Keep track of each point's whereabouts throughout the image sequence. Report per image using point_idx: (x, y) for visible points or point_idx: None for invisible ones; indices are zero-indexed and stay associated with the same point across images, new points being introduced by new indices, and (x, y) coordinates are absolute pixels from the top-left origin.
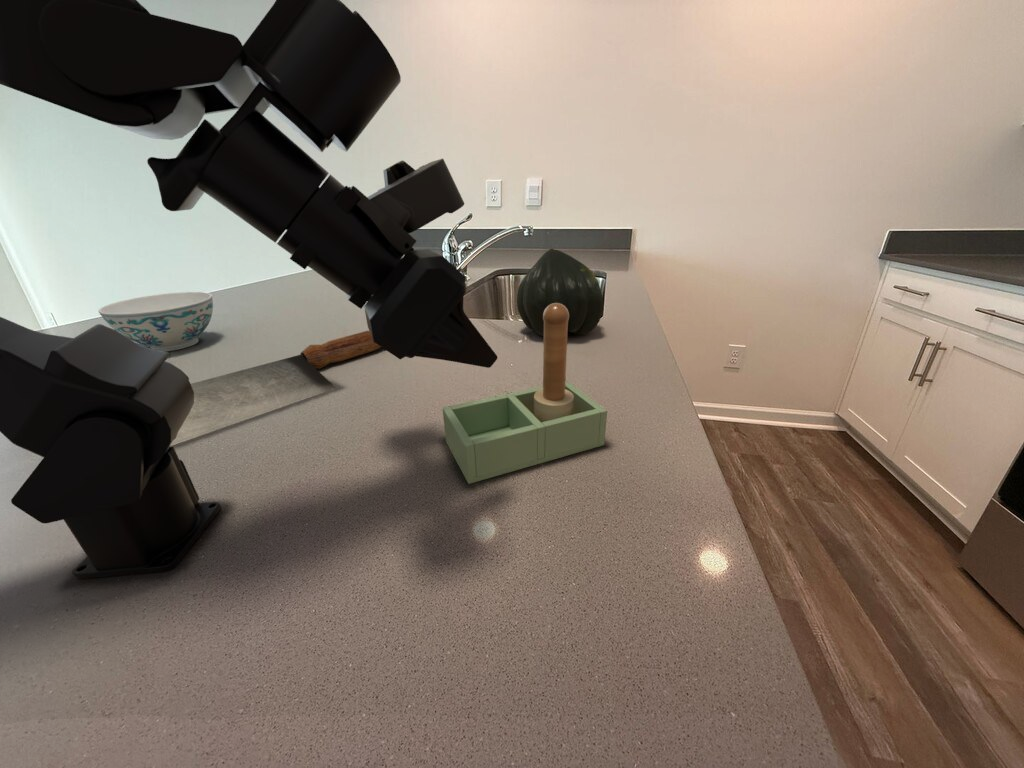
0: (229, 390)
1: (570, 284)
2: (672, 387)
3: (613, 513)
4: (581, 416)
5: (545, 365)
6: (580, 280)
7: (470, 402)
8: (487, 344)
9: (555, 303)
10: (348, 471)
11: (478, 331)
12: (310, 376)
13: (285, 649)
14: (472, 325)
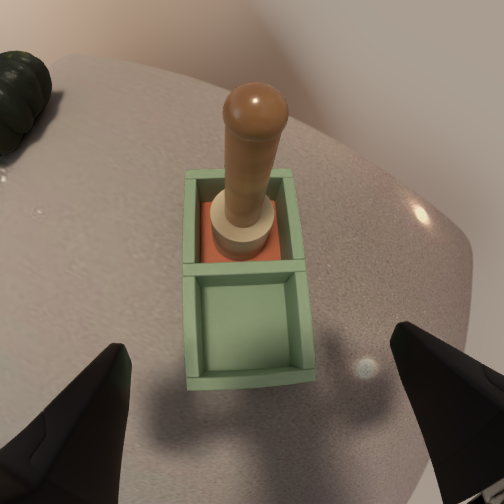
0: None
1: (11, 76)
2: (202, 85)
3: (378, 248)
4: (296, 203)
5: (251, 198)
6: (17, 64)
7: (187, 342)
8: (444, 342)
9: (259, 89)
10: (220, 489)
11: (476, 361)
12: None
13: (398, 484)
14: (496, 373)
